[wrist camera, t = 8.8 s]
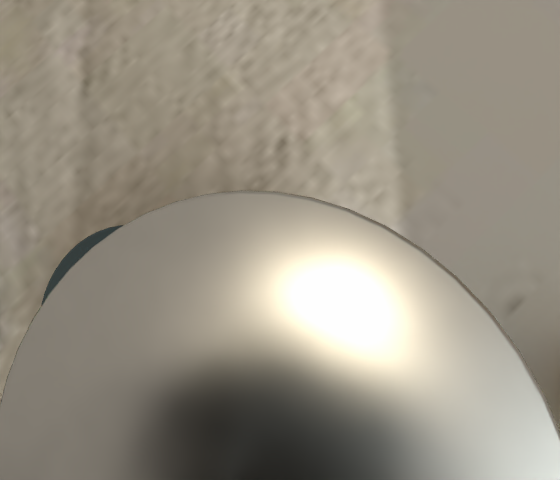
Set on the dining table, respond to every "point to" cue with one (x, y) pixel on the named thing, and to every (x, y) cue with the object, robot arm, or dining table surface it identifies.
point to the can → (269, 357)
